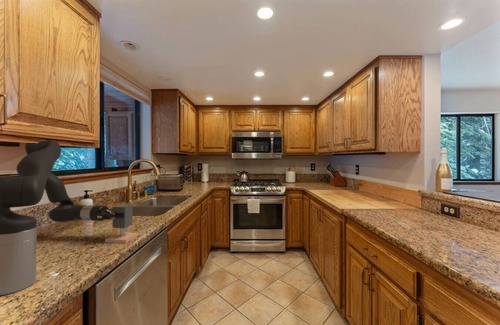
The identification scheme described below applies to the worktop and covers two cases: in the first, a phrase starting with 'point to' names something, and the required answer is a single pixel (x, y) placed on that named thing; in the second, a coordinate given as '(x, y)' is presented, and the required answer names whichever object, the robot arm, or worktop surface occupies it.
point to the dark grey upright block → (126, 219)
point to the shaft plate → (121, 237)
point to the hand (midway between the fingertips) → (127, 214)
